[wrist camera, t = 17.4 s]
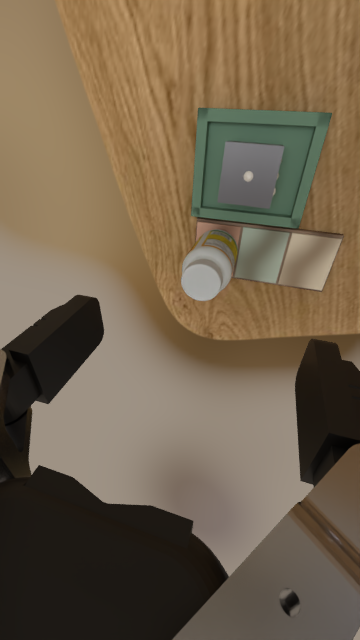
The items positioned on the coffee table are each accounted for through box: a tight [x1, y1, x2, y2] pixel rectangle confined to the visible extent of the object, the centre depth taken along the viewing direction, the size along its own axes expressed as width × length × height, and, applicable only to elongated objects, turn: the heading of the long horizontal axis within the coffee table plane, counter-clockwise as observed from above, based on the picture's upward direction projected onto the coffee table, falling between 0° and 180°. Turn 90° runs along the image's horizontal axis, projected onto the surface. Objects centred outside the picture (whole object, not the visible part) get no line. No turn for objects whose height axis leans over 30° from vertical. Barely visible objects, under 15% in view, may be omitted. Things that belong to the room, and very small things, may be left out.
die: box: [217, 141, 285, 209], centre depth 27 cm, size 5×5×5 cm
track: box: [195, 217, 344, 292], centre depth 33 cm, size 16×7×1 cm, turn 87°
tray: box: [191, 108, 332, 229], centre depth 28 cm, size 12×10×2 cm
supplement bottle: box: [181, 229, 238, 301], centre depth 30 cm, size 5×5×10 cm
